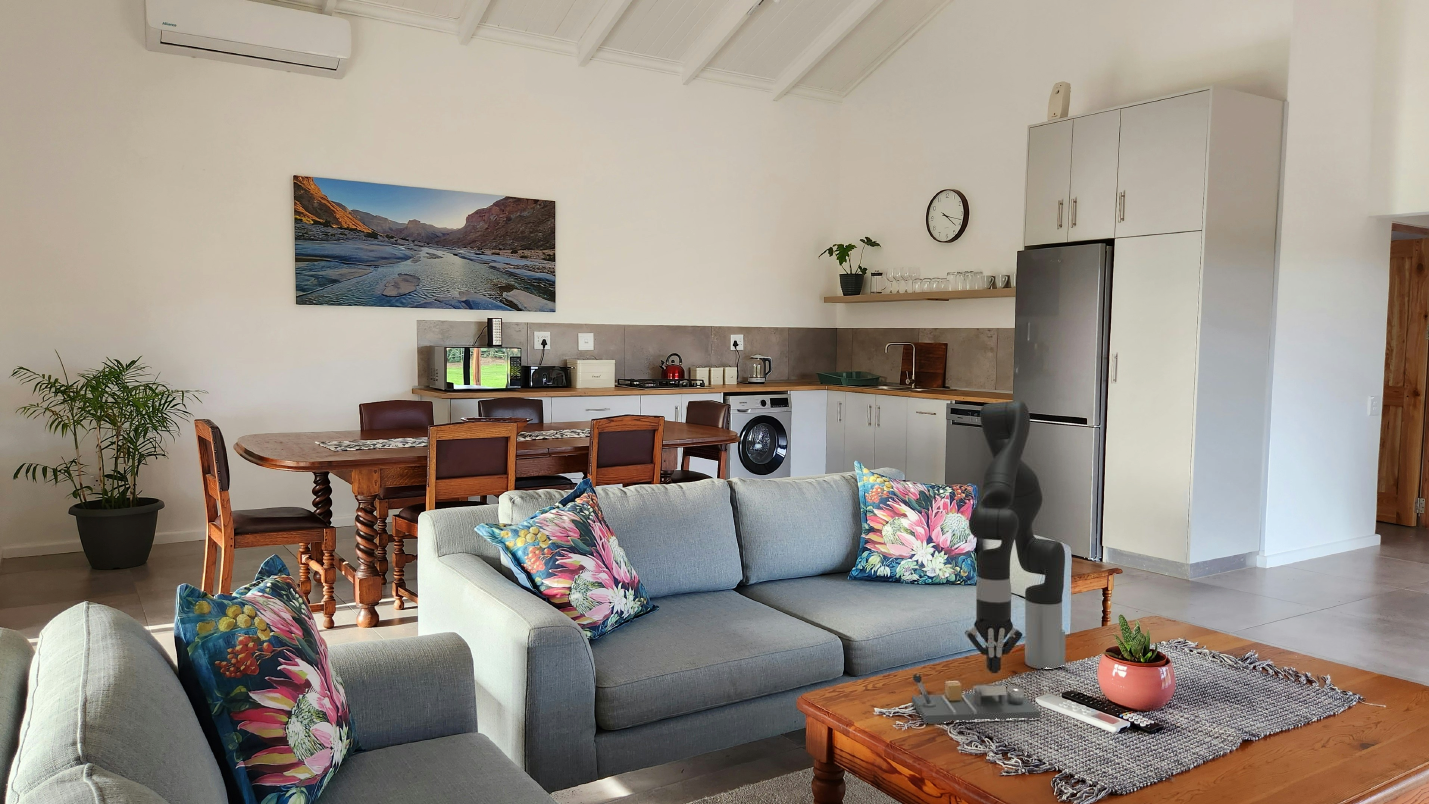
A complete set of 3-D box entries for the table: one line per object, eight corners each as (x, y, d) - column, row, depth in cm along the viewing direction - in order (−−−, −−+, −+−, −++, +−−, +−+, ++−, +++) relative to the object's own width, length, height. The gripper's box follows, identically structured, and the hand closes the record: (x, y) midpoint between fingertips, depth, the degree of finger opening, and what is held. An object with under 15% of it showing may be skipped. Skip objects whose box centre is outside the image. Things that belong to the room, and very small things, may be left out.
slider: (957, 695, 221) (957, 678, 221) (961, 699, 218) (961, 683, 218) (945, 695, 221) (945, 679, 220) (948, 700, 218) (948, 683, 217)
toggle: (931, 699, 217) (918, 670, 217) (934, 702, 215) (920, 673, 215) (924, 702, 217) (910, 674, 217) (926, 706, 215) (912, 677, 215)
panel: (1020, 700, 223) (1020, 678, 223) (1040, 720, 211) (1040, 697, 211) (912, 703, 222) (911, 682, 222) (925, 724, 210) (925, 701, 210)
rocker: (992, 694, 221) (991, 684, 222) (1006, 694, 211) (1005, 684, 212) (974, 694, 221) (973, 684, 221) (987, 695, 211) (985, 684, 212)
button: (1020, 697, 219) (1020, 684, 218) (1025, 703, 215) (1025, 690, 215) (1004, 697, 218) (1004, 685, 218) (1010, 703, 215) (1010, 691, 215)
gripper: (1016, 591, 216) (1016, 665, 216) (959, 592, 215) (959, 667, 216) (1028, 600, 208) (1028, 677, 209) (969, 601, 208) (969, 678, 209)
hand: (993, 671), depth 213 cm, fingers closed
